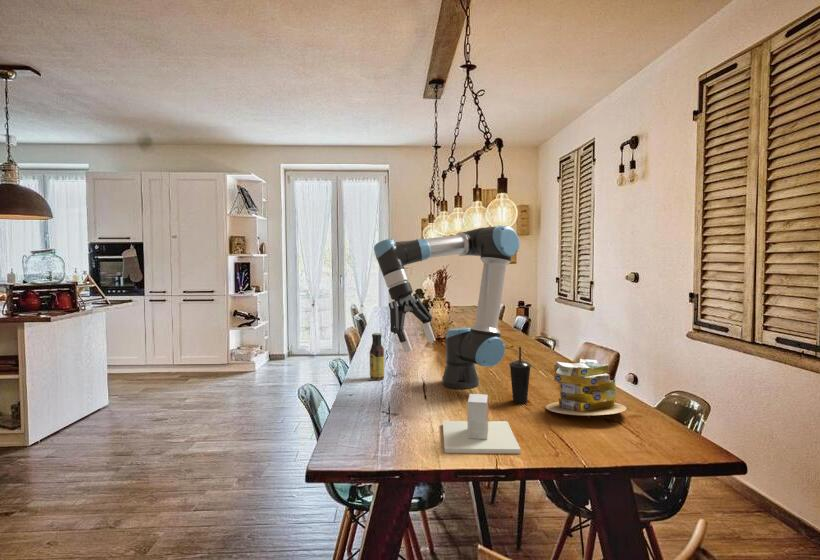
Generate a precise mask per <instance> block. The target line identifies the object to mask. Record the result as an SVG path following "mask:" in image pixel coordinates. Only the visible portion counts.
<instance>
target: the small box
mask: <svg viewBox="0 0 820 560" xmlns="http://www.w3.org/2000/svg"><path fill="white" fill-rule="evenodd" d="M466 403H467V416H466V417H467V420H466V421H468V438H473V439H487V436H488V421H489V394H483V393H482V394H481V393H469V395H468V399H467V402H466Z"/></svg>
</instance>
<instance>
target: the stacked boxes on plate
mask: <svg viewBox="0 0 820 560" xmlns="http://www.w3.org/2000/svg"><path fill="white" fill-rule="evenodd" d="M553 367H554V368H553V369H554V373H553V380H554V382H556V383H558V384H559V385H558V386H559V396H560V398H558V401H555V402H552V403H551V402H550V403H548V404H547V405H546V406H545V408H546V410H548V411H550V412H554V413H556V414H557V413H558V414H563V415H570V416H587V418H588V419H590V417H591V416H604V415H614V414H615V415H616V414H619V413H622V412H625V411H626V410H627V406H625V405H623V404H621V403H618V402H617V396H616V394H617V392H616V390H617V386H616V385H617V384H616V380H617V378H615V379H613V380H612V379H611V378H612V377H613V376H611V375H610V366H609V364H608V363H600V362H597V363H592V361H591V363H589V362H588V363H583V362H582V363H580V362H575V363H570V362H563V361H562V362H561V361H556V362H555V364H554V365H553Z"/></svg>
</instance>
